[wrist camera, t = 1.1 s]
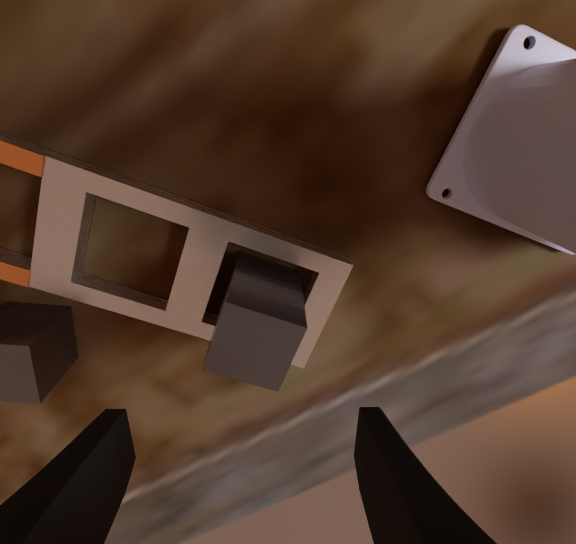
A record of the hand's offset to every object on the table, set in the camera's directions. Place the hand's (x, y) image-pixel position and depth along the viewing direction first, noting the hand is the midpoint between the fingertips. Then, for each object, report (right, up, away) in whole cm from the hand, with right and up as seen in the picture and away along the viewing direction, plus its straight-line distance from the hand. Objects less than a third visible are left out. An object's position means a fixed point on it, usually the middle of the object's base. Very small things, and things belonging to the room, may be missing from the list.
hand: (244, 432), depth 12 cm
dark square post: (0, +4, +10) cm, 10 cm away
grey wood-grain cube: (-13, +2, +10) cm, 17 cm away
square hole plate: (-7, +6, +8) cm, 13 cm away
